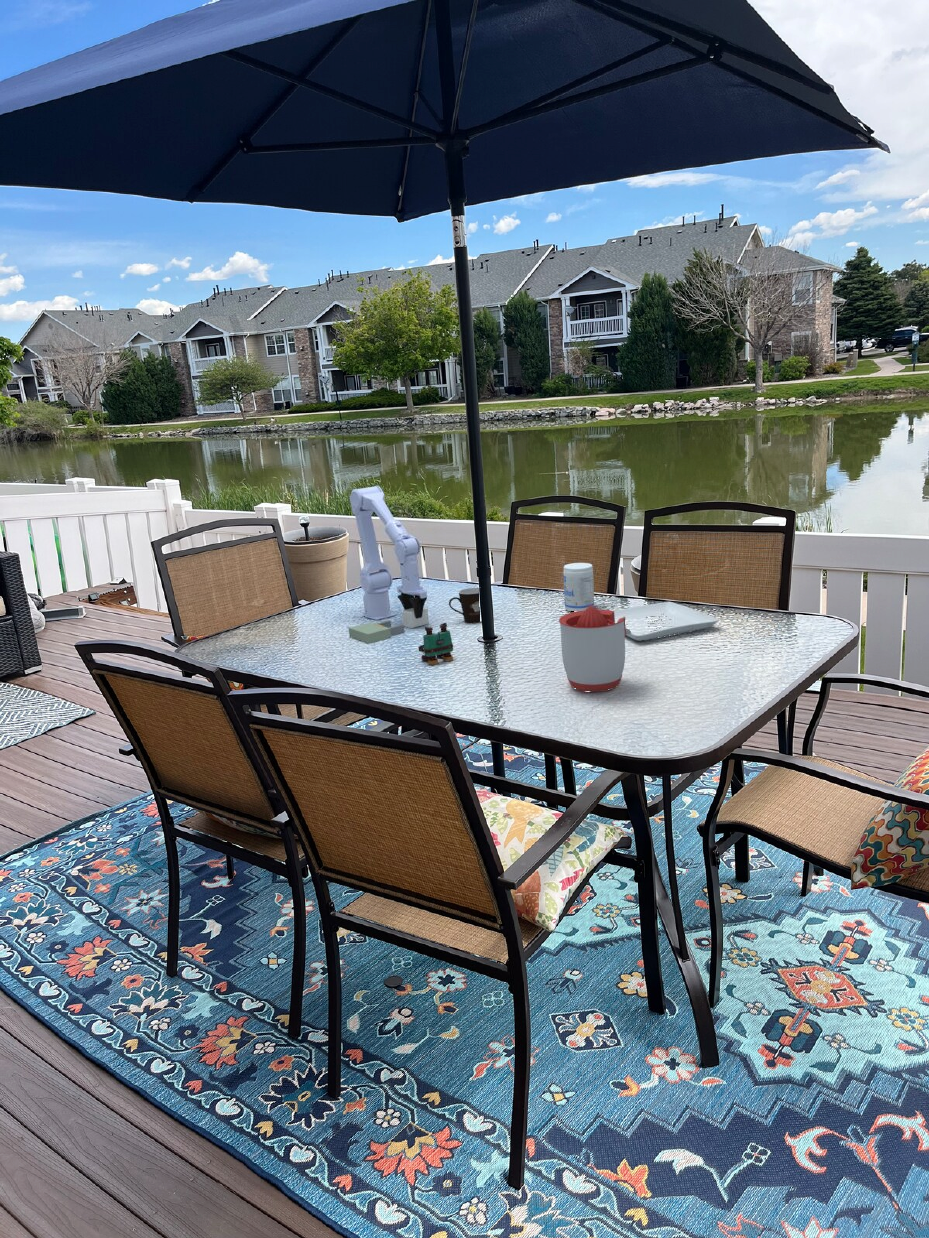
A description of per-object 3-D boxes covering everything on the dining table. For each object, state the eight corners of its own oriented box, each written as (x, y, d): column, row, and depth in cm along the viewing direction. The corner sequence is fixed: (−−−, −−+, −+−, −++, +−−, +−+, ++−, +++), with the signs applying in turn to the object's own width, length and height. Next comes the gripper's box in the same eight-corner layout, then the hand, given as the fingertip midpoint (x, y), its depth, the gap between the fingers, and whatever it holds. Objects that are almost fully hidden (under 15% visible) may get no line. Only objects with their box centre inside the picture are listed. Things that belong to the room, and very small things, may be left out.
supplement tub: (559, 610, 274) (556, 566, 270) (579, 604, 279) (577, 561, 275) (579, 614, 266) (577, 569, 262) (600, 608, 272) (598, 564, 268)
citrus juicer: (646, 688, 197) (643, 606, 192) (578, 700, 193) (574, 617, 188) (616, 669, 212) (613, 593, 207) (552, 681, 207) (548, 603, 202)
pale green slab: (349, 636, 264) (348, 627, 263) (387, 627, 272) (386, 617, 271) (368, 643, 254) (367, 633, 253) (407, 633, 262) (406, 623, 261)
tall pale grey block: (402, 625, 271) (401, 610, 270) (420, 620, 275) (418, 606, 274) (411, 628, 267) (409, 613, 266) (429, 623, 271) (427, 608, 270)
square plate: (669, 611, 262) (669, 599, 261) (721, 631, 237) (721, 618, 236) (591, 625, 254) (591, 613, 254) (637, 647, 229) (636, 634, 228)
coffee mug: (488, 616, 274) (486, 587, 271) (486, 623, 265) (484, 593, 263) (453, 618, 275) (450, 589, 272) (450, 625, 267) (447, 595, 264)
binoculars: (438, 619, 237) (453, 622, 228) (443, 655, 239) (458, 660, 230) (409, 625, 233) (424, 629, 225) (415, 661, 235) (429, 666, 226)
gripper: (433, 575, 263) (437, 617, 267) (408, 570, 275) (412, 610, 278) (414, 580, 259) (418, 622, 263) (390, 574, 271) (394, 615, 274)
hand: (414, 616), depth 270 cm, fingers closed on tall pale grey block, 5 cm apart
